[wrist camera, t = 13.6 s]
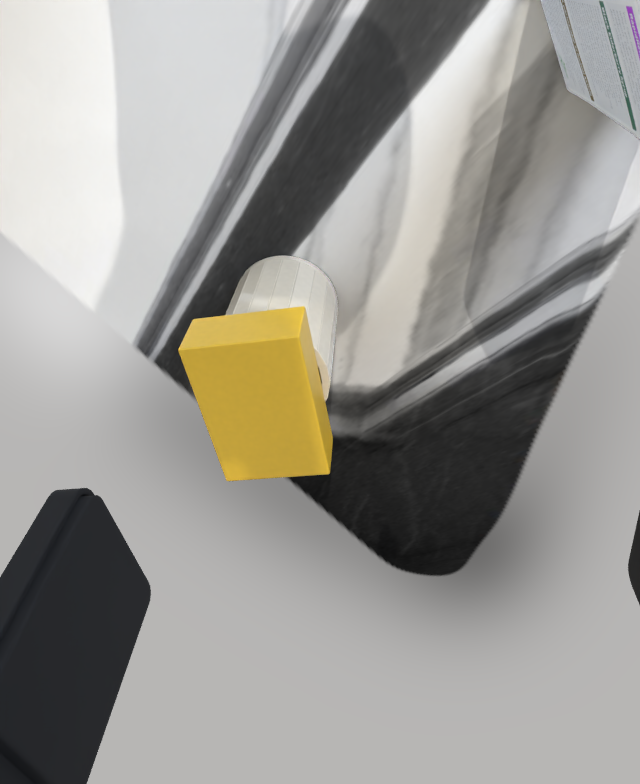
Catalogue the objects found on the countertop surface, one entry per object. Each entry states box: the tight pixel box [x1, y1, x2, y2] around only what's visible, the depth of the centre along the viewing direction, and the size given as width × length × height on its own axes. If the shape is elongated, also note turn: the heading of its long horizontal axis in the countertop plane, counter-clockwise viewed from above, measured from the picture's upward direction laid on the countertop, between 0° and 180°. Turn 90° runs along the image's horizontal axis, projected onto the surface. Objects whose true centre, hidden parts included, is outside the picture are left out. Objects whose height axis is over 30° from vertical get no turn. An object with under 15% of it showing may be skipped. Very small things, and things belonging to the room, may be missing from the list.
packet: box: [178, 306, 333, 481], centre depth 31 cm, size 9×6×3 cm, turn 10°
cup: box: [225, 256, 338, 401], centre depth 36 cm, size 7×7×9 cm
